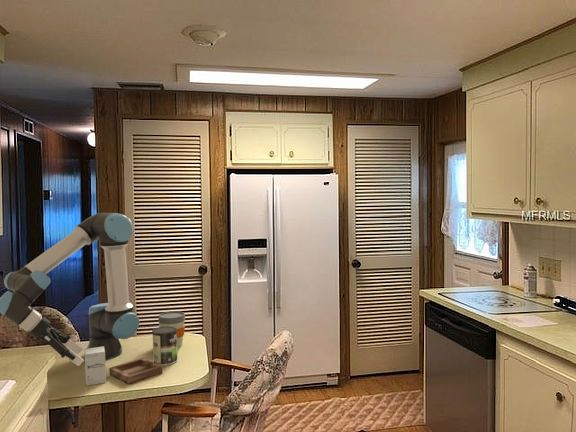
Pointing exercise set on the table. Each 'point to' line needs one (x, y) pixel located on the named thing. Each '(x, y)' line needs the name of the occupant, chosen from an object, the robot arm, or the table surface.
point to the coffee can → (165, 345)
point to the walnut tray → (135, 371)
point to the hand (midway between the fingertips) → (80, 357)
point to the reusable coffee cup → (174, 323)
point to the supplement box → (95, 365)
